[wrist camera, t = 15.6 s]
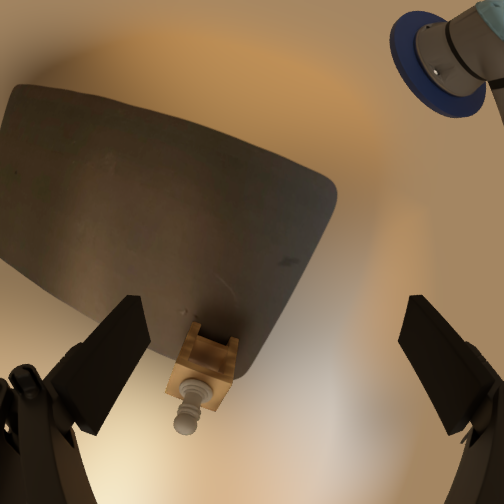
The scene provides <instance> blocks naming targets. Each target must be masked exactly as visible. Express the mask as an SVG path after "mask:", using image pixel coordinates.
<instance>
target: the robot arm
mask: <svg viewBox="0 0 504 504" xmlns="http://www.w3.org/2000/svg"><path fill="white" fill-rule="evenodd" d="M413 48H414V53H415V56H416V59H417V61H418V63H419V65H420V67H421V69H422V70H423V72H424V73H425V75H426V76H427V77H428V79H429V80H430V81H431V82H432V83H433V84H434V85H435V86H436V87H437V88H438V89H440V90H441V91H442V92H444V93H446V94H448V95H450V96H453V97H465V96H469V95H471V94H473V93H474V92H475V91H476V90H477V88H478V87H480V86H481V85H482V84H483V83H484V82H485V81H488V83H489V86H490V88H491V91H492V93H493V96H494V99H495V101H496V104H497V107H498V110H499V112H500V115H501V118H502V122H503V125H504V0H485V1H482V2H478V3H476V5H475V6H473V7H471V8H470V9H468V10H466V11H465V12H463V13H461V14H460V15H458V16H457V17H455V18H454V19H452V20H450V21H449V22H436V23H432V24H427V25H424V26H423V27H421V28H420V29H419V30H418V31H417V32H416V33H415V35H414V39H413ZM150 342H151V340H150V336H149V332H148V328H147V324H146V320H145V315H144V311H143V306H142V302H141V297H140V296H134V295H127V296H126V297H125V298H124V299H123V300H122V301H121V302H120V303H119V304H118V305H117V306H116V307H115V308H114V309H113V310H112V312H111V313H110V314H109V315H108V316H107V317H106V318H105V319H104V320H103V321H102V322H101V323H100V324H99V326H98V327H97V328H96V329H95V330H94V331H93V332H92V333H91V334H90V335H89V337H88V338H87V339H86V340H85V341H84V342H83V343H81V342H80V343H78V344H77V345H75V346H73V347H72V348H71V349H70V350H69V351H68V352H67V353H66V354H65V357H63V358H62V359H61V360H60V362H58V363H57V364H56V366H55V367H54V368H53V369H52V370H51V371H50V372H49V374H48V375H47V376H46V377H45V378H44V379H43V381H42V379H41V378H40V376H39V374H38V372H37V371H36V368H35V367H34V366H33V365H30V364H22V365H20V366H17V367H16V368H14V369H13V370H12V371H11V373H10V374H9V377H8V379H9V380H10V382H11V384H12V386H13V387H14V389H12V388H10V386H9V385H8V383H7V381H6V380H4V379H3V378H0V504H97V502H96V499H95V497H94V494H93V492H92V489H91V486H90V484H89V481H88V478H87V475H86V472H85V469H84V465H83V462H82V459H81V455H80V452H79V448H78V444H77V440H76V436H75V432H74V430H73V428H72V425H73V424H74V422H76V424H77V425H78V427H79V428H80V430H81V431H84V432H86V433H89V434H92V435H94V436H97V434H98V432H99V430H100V428H101V426H102V425H103V423H104V421H105V419H106V417H107V416H108V414H109V412H110V410H111V408H112V407H113V405H114V403H115V401H116V399H117V398H118V396H119V394H120V393H121V391H122V389H123V387H124V386H125V384H126V382H127V381H128V379H129V377H130V375H131V374H132V372H133V370H134V369H135V367H136V365H137V364H138V362H139V360H140V358H141V357H142V355H143V354H144V352H145V350H146V349H147V347H148V345H149V344H150ZM398 342H399V344H400V346H401V348H402V349H403V351H404V353H405V354H406V356H407V358H408V360H409V361H410V363H411V365H412V366H413V368H414V370H415V372H416V374H417V375H418V377H419V379H420V381H421V383H422V385H423V386H424V388H425V390H426V392H427V394H428V396H429V398H430V400H431V402H432V403H433V405H434V407H435V409H436V411H437V413H438V415H439V417H440V419H441V421H442V423H443V426H444V428H445V430H446V432H447V434H448V435H449V436H450V435H453V434H455V433H458V432H460V431H463V429H464V428H465V427H466V425H467V424H468V423H469V421H470V422H471V423H472V425H473V426H472V428H471V429H470V430H469V432H468V433H467V434H466V435H465V437H464V438H463V439H462V441H461V444H462V443H463V442H464V441H465V440H466V439H467V441H466V444H465V448H464V452H463V455H462V458H461V461H460V465H459V467H458V470H457V473H456V476H455V478H454V481H453V484H452V486H451V489H450V491H449V494H448V496H447V498H446V500H445V503H444V504H504V381H503V380H502V379H501V378H500V376H499V375H498V374H497V373H496V371H495V370H494V369H493V368H492V366H491V365H490V364H489V363H488V361H487V362H486V359H485V358H484V357H483V356H482V355H481V353H480V352H479V350H478V349H477V348H476V347H475V346H473V345H472V344H470V343H469V342H467V341H466V342H464V340H463V339H462V338H461V337H460V336H459V335H458V333H457V332H456V331H455V330H454V329H453V328H452V327H451V326H450V324H449V323H448V322H447V321H446V320H445V319H444V318H443V317H442V316H441V314H440V313H439V312H438V311H437V310H436V309H435V308H434V307H433V306H432V305H431V304H430V303H429V302H428V300H427V299H426V298H425V297H424V296H423V295H412V296H409V301H408V305H407V309H406V313H405V317H404V321H403V325H402V328H401V332H400V336H399V339H398ZM5 423H6V424H7V426H8V427H9V431H8V432H6V430H5V429H4V427H5Z"/></svg>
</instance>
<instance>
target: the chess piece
mask: <svg viewBox="0 0 504 504" xmlns="http://www.w3.org/2000/svg"><path fill="white" fill-rule="evenodd" d="M179 392H180V394H181V395H182V396H183V397H184V400H183V403H182V404H181V405H180V406H179V408H178V411H177V415H178V416H177V417H176V418H175V420H174V428H175V430H176V431H177V432H178V433H180V434H182V435H191V434H193V433H194V432H195V430H196V428H197V421H198V420H199V419H200V414H201V410H200V406H201V404H202V403H206V402H208V401H210V400H211V398H212V396H213V393H212V389H211V388H210V387H209V386H208V385H207V384H206V383H204V382H202V381H200V380H196V379H188V380H185V381H183V382H182V383H181V384H180V386H179Z"/></svg>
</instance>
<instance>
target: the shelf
mask: <svg viewBox="0 0 504 504" xmlns="http://www.w3.org/2000/svg"><path fill="white" fill-rule="evenodd" d="M200 327H201V324H199V323H197V322H194V321H193V323H192V325H191V327H190V330H189V332H188V334H187V337H186V339H185V341H184V344H183V346H182V348H181V351H180V353H179V355H178V358H177V360H176V363H175V365H174V368H173V371H172V374H171V376H170V379H169V382H168V385H167V388H166V391H165V393H167V394H169V395H171V396H174V397H176V398H179V399H181V400H184V397H183V396H182V395H181V394H180V392H179V386H180V384H181V383H182V382H183V381H185V380H188V379H196V380H200V381H202V382H204V383H206V384H207V385H208V386H209V387H210V388H211V389H212V393H213V396H212V398H211V400H210V401H208V402H206V403H202V404H201V406H200V407H203V408H206V409H209V410H212V411H216V410H217V409H218V407H219V405H220V404H221V402H222V400H223V399H224V397H225V395H226V394H227V392H228V391H229V389H230V387H231V386H232V383H233V376H234V369H235V363H236V356H237V349H238V342H239V339H237V338H234V337H232V336H231V337H230V339H229V341H228V343H227V345H226V346H224V345H222V344H219V343H217V342H214V341H211V340H209V339H206V338H204V337H201V336H199V335H198V332H199V329H200Z"/></svg>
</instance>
